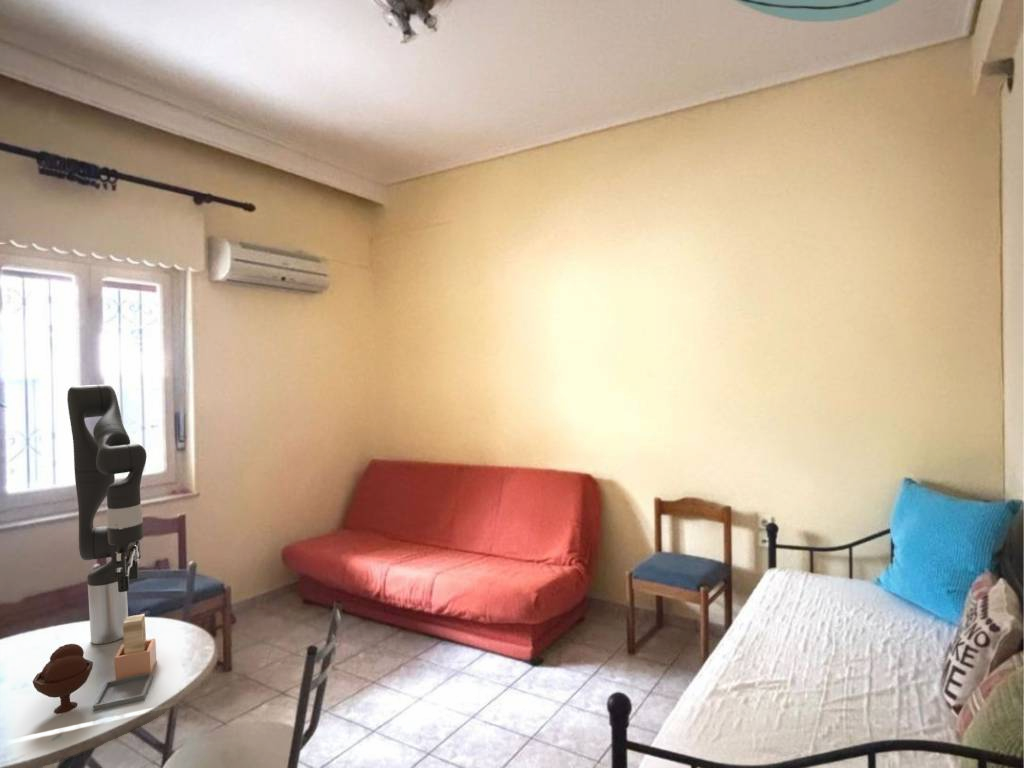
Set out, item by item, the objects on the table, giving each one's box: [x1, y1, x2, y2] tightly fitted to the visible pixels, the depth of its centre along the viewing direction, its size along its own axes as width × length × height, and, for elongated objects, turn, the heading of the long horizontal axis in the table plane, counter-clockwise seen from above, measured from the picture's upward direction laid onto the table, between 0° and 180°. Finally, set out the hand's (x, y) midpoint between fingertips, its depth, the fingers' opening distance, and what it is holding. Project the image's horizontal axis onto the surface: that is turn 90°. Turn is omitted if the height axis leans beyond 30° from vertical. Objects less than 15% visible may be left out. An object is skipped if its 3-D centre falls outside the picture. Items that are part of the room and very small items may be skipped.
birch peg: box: [123, 613, 147, 655], centre depth 147 cm, size 4×4×14 cm
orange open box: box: [113, 638, 158, 680], centre depth 147 cm, size 8×8×7 cm
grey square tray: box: [92, 671, 154, 712], centre depth 137 cm, size 11×10×2 cm
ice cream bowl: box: [31, 643, 94, 715], centre depth 132 cm, size 11×11×15 cm
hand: (128, 584), depth 146 cm, fingers open, 8 cm apart
